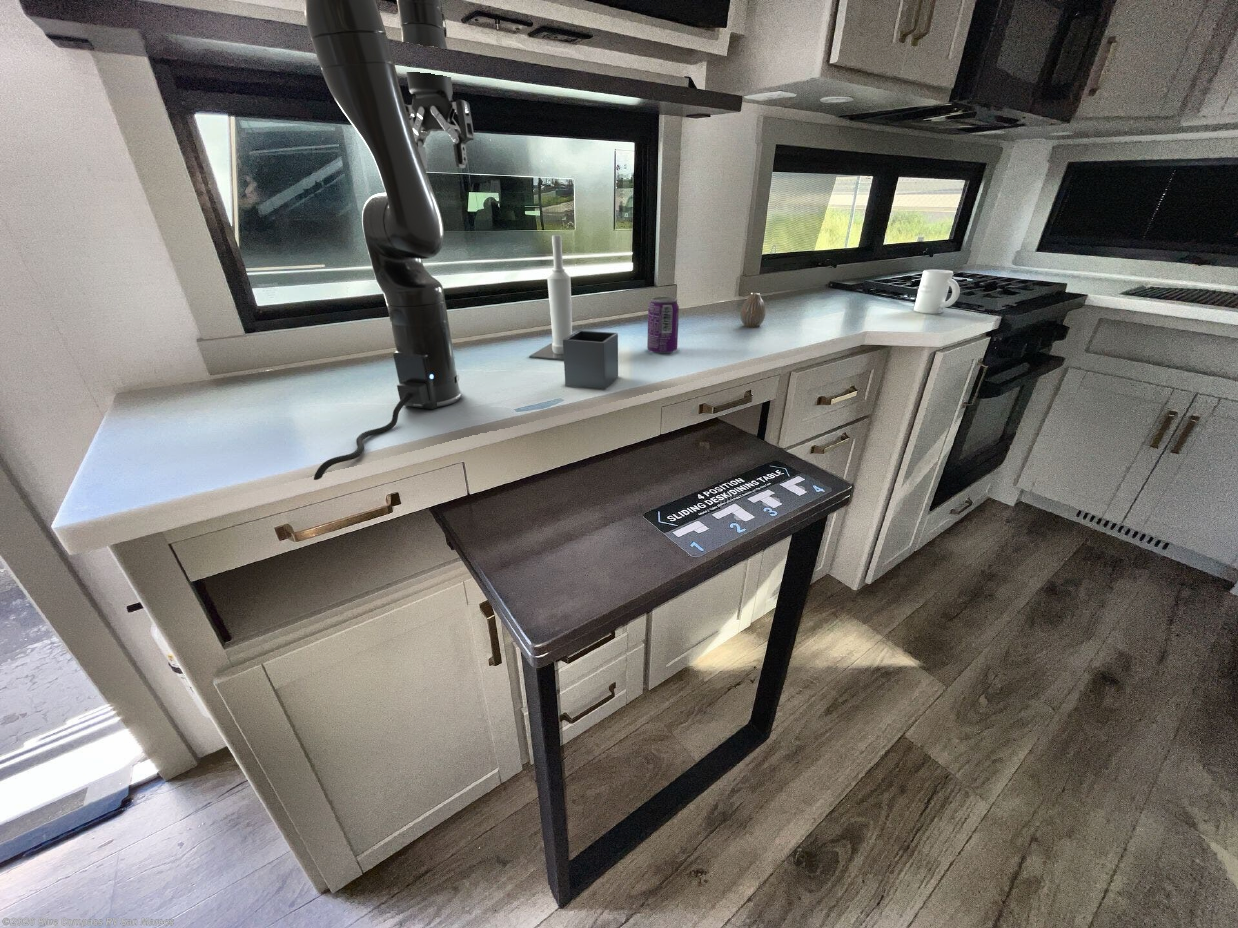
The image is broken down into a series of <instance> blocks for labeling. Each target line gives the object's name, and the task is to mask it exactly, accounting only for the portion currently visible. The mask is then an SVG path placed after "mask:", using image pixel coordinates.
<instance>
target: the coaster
mask: <svg viewBox="0 0 1238 928" xmlns="http://www.w3.org/2000/svg"><path fill="white" fill-rule="evenodd" d="M552 343H553V342H552ZM552 343H550V344H548V345H546V346H544V347H542V348H541V349H539V350H537V351H535V352H534V353H532V354H530V355H529V356H528V357H529V359H541V360H551V361H552V360H554V361H561V362H562V361H563V362H564V354H556V353H554V352H553V349H552Z"/></svg>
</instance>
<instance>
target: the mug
mask: <svg viewBox="0 0 1238 928" xmlns="http://www.w3.org/2000/svg"><path fill="white" fill-rule="evenodd" d="M953 275H954V271H952V270H947V269H924V270H923V271H922V275H921V279H920V283H919V286H918V289H917V295H916V298H915V302H914V306H913V311H914V312H916V313H922V314H933V315H935V314H936V315H937V314H941V313H943V310H944V308H948V307H950V306H953V304H955V303H956V301H958V299H959V297H960V293H961V288H960V285H959V283H958V282H957V281H956V280H955V279H953ZM950 288H951V296H950V297H949V298H948V299H947V297H948V293H949V289H950Z"/></svg>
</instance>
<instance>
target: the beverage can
mask: <svg viewBox="0 0 1238 928" xmlns="http://www.w3.org/2000/svg"><path fill="white" fill-rule="evenodd" d="M679 318H680V306H679V303H678V298H677V297H672V296H655V297H651V298H650V301H649V305H648V307H647V345H646V346H647V347H646V348H647V350H649V351H650V352H652V353H654V354H657V355H667V354H672V353H673V352H675V351H677V350H678V342H679V341H678V339H679Z"/></svg>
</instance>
